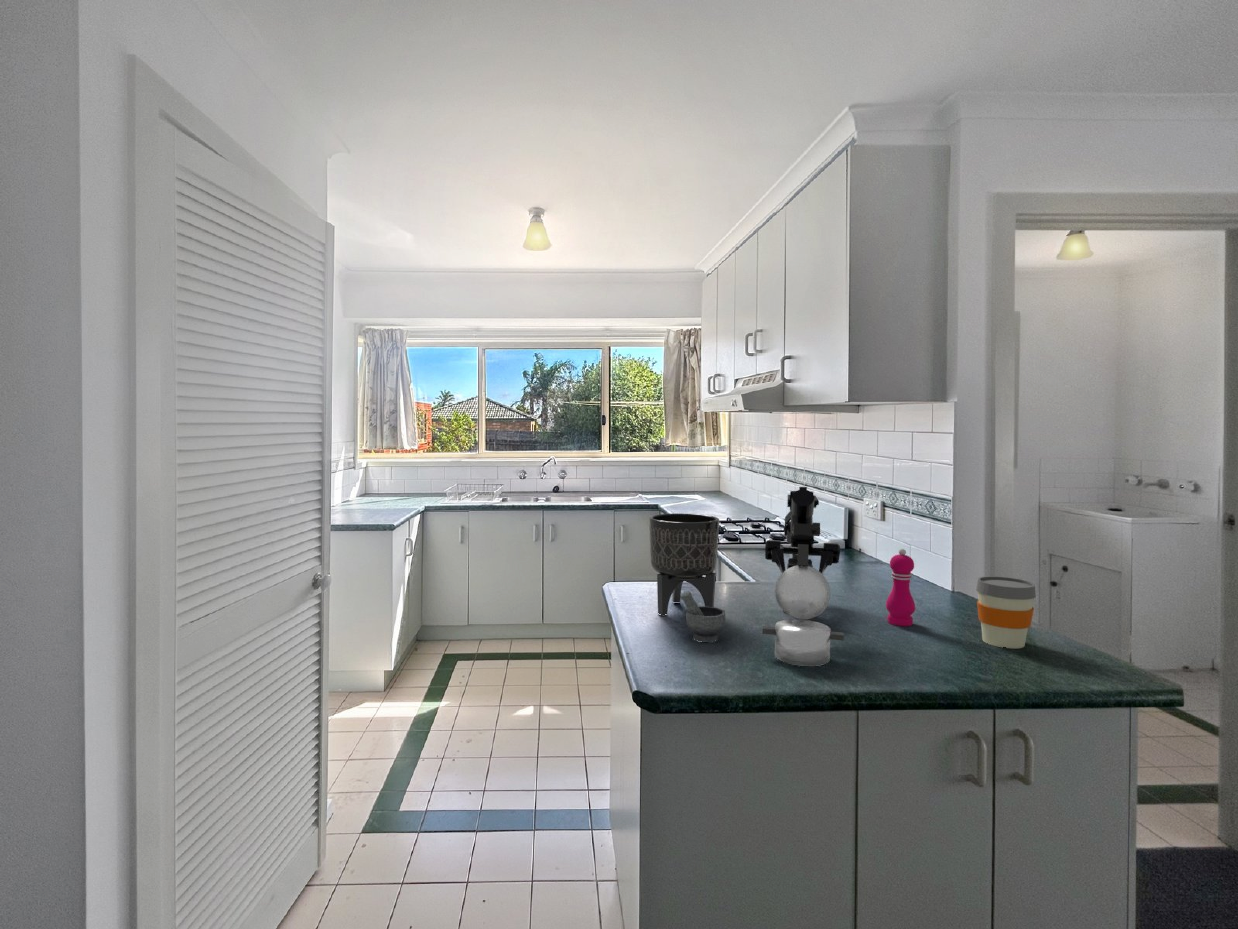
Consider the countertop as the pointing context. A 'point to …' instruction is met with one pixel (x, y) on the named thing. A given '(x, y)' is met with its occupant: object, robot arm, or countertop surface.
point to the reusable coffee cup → (1005, 610)
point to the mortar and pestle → (703, 619)
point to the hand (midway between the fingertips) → (801, 579)
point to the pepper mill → (901, 591)
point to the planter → (683, 555)
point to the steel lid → (802, 589)
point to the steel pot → (802, 641)
